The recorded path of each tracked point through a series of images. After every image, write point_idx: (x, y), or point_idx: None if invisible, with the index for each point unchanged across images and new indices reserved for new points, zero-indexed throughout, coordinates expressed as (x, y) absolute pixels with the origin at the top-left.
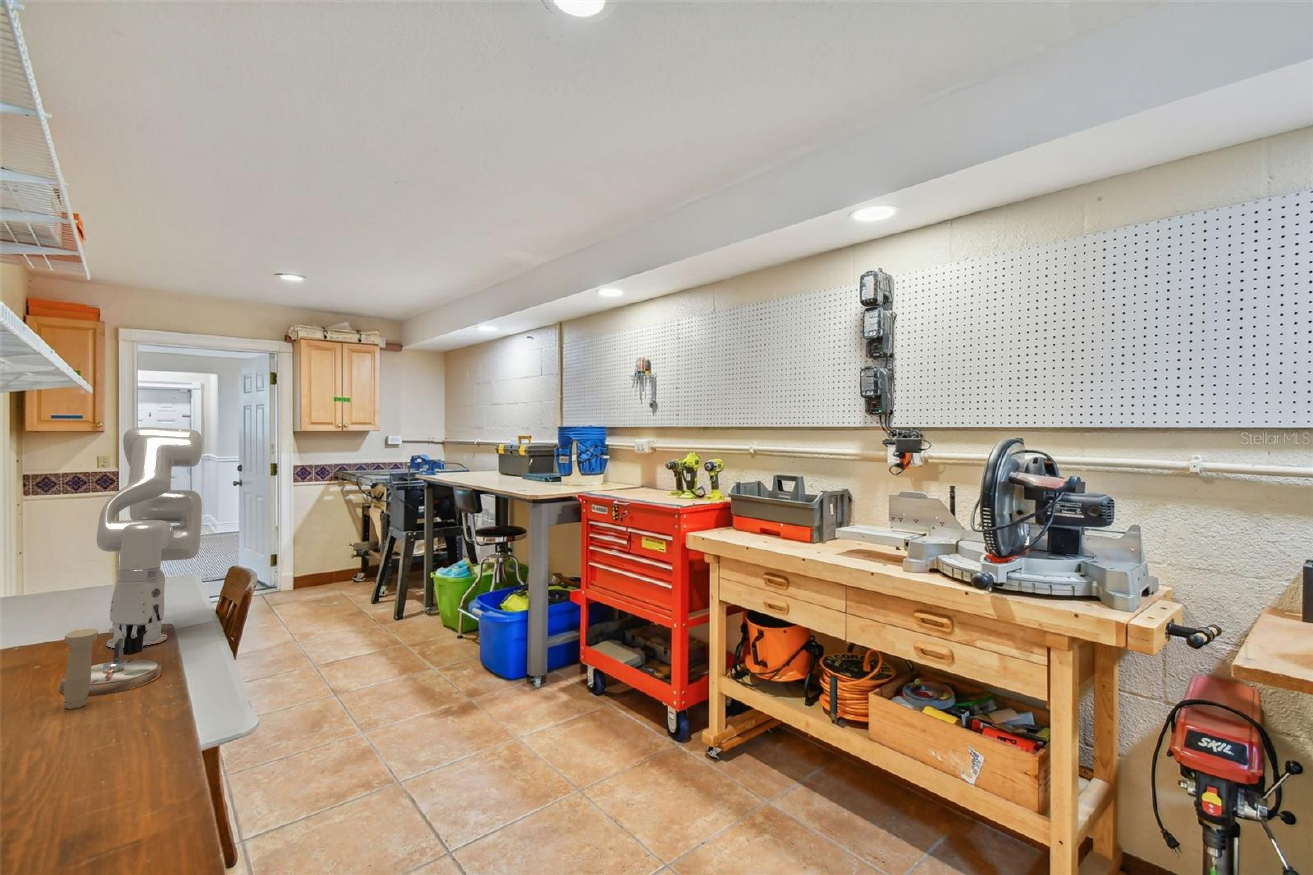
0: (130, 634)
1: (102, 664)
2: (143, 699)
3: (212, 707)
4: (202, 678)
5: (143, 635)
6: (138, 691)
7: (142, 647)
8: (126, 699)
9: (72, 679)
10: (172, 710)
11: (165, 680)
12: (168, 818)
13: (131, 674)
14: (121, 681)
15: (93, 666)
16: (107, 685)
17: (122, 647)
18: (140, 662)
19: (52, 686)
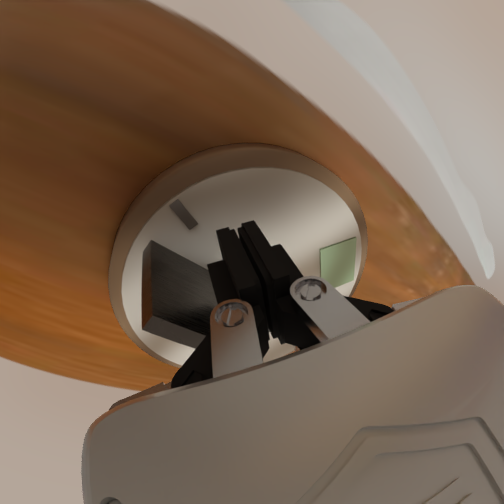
0: (268, 347)
1: (135, 287)
2: (401, 280)
3: (482, 243)
4: (434, 151)
5: (286, 271)
6: (367, 268)
7: (259, 228)
8: (375, 296)
9: None
10: (452, 274)
11: (372, 196)
12: None
13: (341, 283)
14: None
15: (137, 310)
16: None
17: (156, 278)
18: (245, 203)
19: (140, 350)
